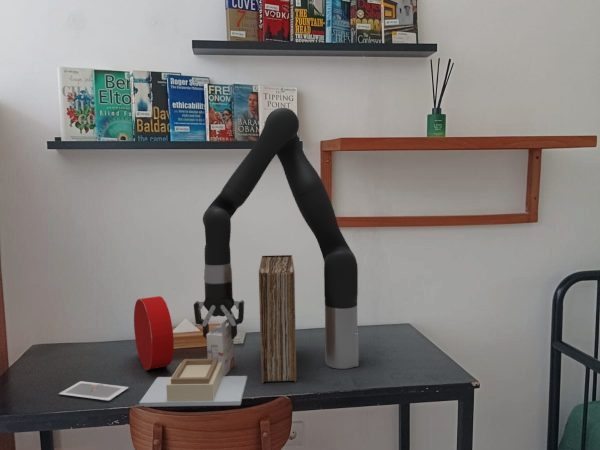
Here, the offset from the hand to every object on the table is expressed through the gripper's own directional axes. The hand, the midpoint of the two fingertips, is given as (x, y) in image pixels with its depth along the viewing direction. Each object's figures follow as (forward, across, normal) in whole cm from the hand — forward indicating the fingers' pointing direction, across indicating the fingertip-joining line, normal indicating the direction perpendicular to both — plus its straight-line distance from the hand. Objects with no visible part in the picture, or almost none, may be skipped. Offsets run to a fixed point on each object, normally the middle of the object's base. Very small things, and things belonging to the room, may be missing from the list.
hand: (220, 338), depth 137 cm
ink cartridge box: (+10, 0, 0) cm, 10 cm away
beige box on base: (+9, +4, +14) cm, 17 cm away
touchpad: (+10, +30, +13) cm, 34 cm away
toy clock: (+10, +20, -4) cm, 23 cm away
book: (+10, -16, -3) cm, 19 cm away
